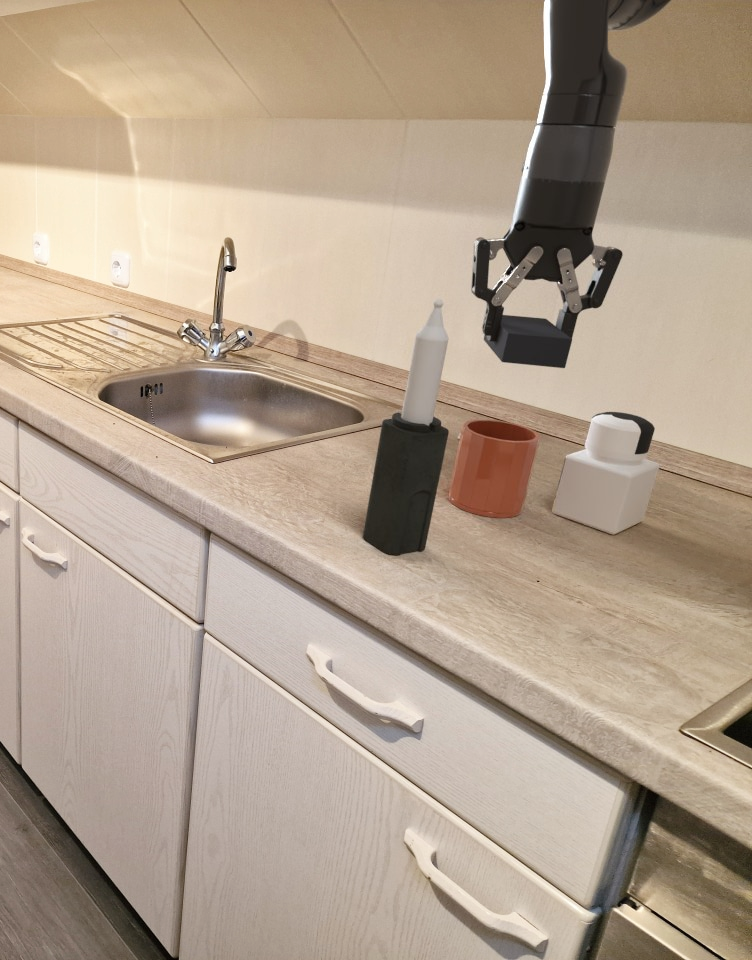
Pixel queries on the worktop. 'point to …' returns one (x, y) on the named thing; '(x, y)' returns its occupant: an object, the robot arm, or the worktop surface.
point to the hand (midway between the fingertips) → (524, 342)
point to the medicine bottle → (609, 474)
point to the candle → (410, 452)
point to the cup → (493, 468)
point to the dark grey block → (530, 342)
